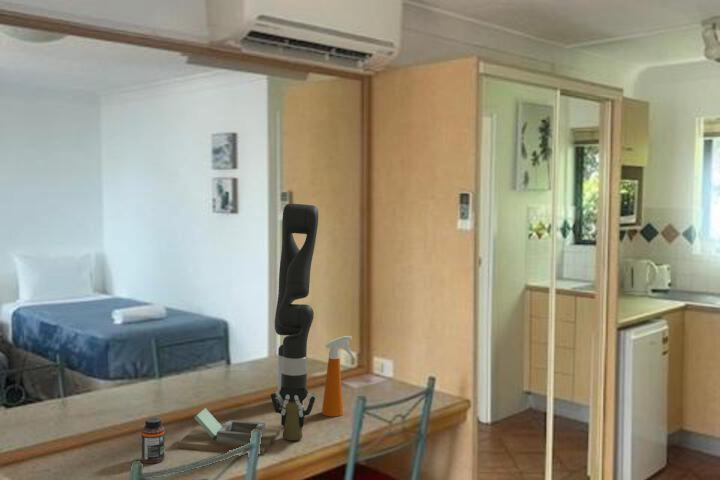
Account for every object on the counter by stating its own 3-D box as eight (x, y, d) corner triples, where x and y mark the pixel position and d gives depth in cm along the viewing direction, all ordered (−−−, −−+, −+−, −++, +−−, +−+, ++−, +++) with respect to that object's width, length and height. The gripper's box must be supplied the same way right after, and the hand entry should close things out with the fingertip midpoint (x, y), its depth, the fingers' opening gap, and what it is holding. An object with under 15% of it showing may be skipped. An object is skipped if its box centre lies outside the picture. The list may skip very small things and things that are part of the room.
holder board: (201, 427, 218) (201, 412, 218) (279, 433, 215) (280, 418, 215) (178, 447, 201) (178, 432, 200) (263, 455, 197) (263, 439, 197)
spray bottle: (354, 417, 233) (357, 338, 231) (322, 416, 232) (324, 337, 230) (353, 410, 240) (355, 333, 238) (321, 410, 239) (323, 333, 237)
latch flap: (202, 410, 211) (205, 407, 211) (221, 431, 211) (224, 429, 210) (194, 417, 204) (196, 415, 204) (213, 439, 204) (216, 437, 204)
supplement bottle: (144, 455, 194) (144, 415, 193) (166, 455, 194) (166, 415, 194) (139, 464, 188) (139, 422, 187) (162, 464, 188) (162, 422, 188)
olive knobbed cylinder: (299, 440, 207) (300, 404, 206) (279, 438, 208) (280, 402, 207) (305, 433, 213) (306, 398, 212) (285, 431, 214) (286, 396, 213)
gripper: (320, 369, 212) (318, 425, 213) (274, 366, 214) (272, 421, 215) (315, 376, 204) (313, 433, 206) (267, 372, 206) (266, 429, 208)
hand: (292, 427), depth 210 cm, fingers closed on olive knobbed cylinder, 4 cm apart
